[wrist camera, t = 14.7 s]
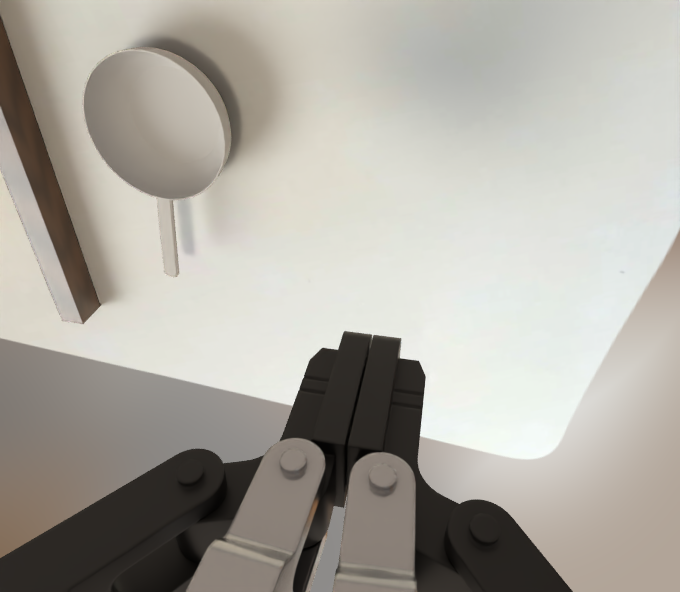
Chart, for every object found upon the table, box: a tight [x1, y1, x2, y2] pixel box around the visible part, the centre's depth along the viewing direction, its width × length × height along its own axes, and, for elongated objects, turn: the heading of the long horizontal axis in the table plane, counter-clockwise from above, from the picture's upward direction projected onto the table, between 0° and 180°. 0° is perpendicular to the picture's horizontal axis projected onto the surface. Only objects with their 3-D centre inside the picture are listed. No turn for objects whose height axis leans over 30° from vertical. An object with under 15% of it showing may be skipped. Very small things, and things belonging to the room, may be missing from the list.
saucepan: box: [83, 47, 231, 277], centre depth 40 cm, size 11×18×4 cm, turn 175°
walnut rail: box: [0, 18, 100, 324], centre depth 44 cm, size 30×2×3 cm, turn 0°
